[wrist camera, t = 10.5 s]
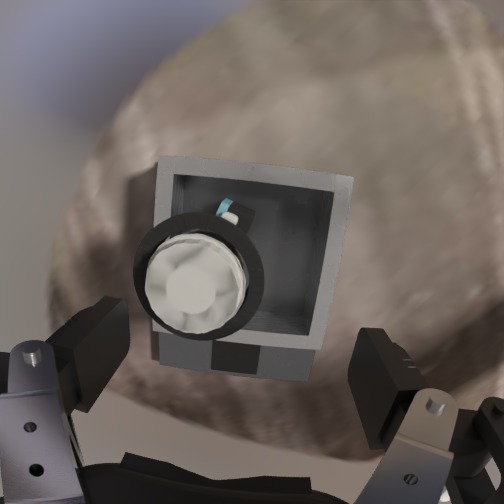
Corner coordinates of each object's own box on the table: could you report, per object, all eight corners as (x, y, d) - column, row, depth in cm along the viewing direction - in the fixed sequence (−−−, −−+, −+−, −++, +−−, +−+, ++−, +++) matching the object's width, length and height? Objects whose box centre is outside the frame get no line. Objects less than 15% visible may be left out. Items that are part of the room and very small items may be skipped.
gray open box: (343, 175, 21) (362, 178, 17) (306, 373, 25) (312, 405, 21) (170, 156, 21) (150, 154, 17) (163, 356, 25) (149, 386, 21)
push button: (236, 302, 22) (217, 394, 13) (167, 270, 22) (103, 341, 12) (278, 215, 21) (290, 256, 11) (203, 181, 20) (149, 193, 11)
